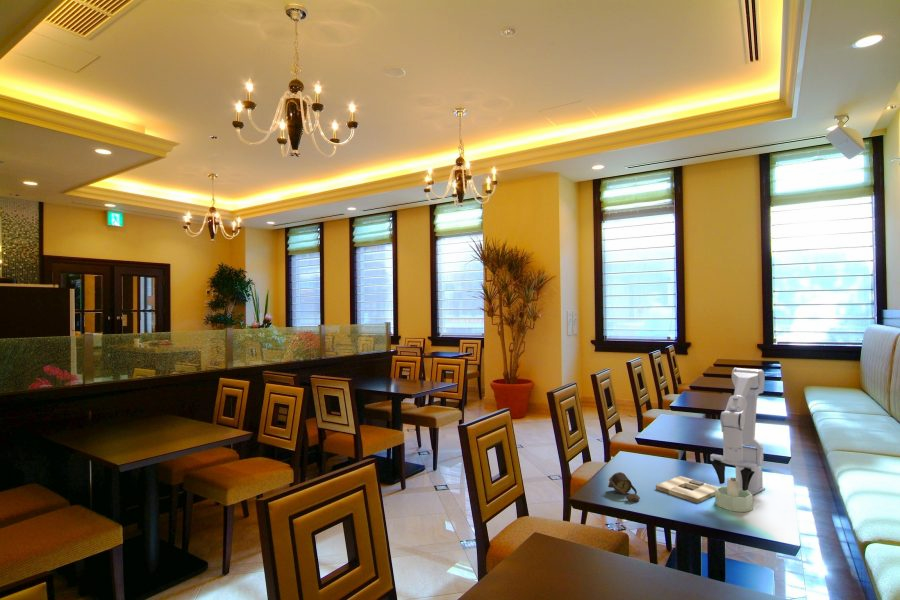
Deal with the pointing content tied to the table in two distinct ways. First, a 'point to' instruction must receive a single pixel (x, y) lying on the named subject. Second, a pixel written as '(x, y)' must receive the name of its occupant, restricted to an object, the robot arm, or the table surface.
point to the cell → (733, 487)
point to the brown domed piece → (623, 486)
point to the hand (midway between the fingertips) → (733, 486)
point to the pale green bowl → (733, 500)
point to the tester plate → (677, 489)
